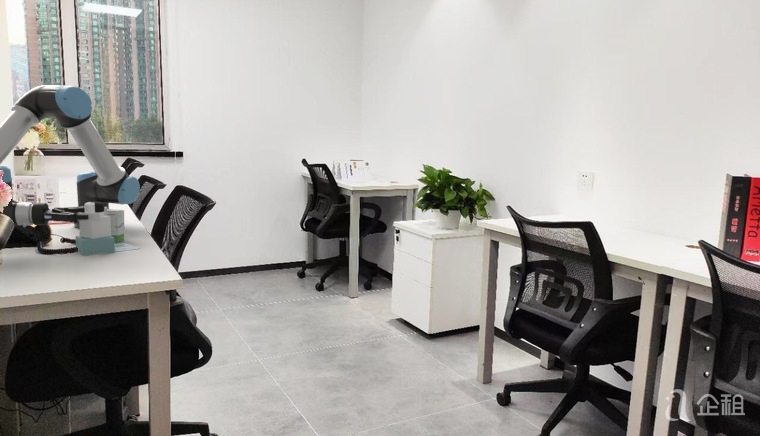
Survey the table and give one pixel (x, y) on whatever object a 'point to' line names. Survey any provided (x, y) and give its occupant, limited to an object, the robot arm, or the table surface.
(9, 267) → the table surface
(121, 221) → the ink box
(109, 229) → the grey stepped block
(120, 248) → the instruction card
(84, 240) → the base brick
